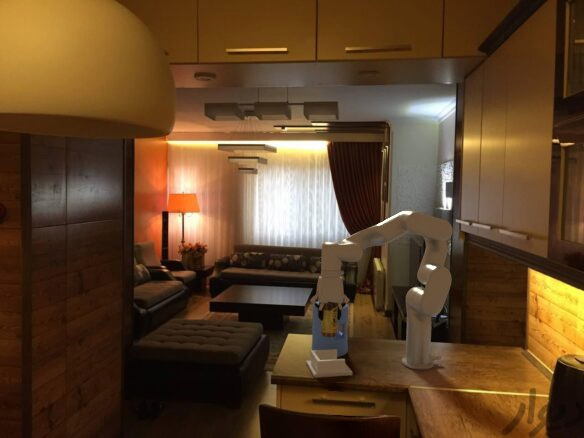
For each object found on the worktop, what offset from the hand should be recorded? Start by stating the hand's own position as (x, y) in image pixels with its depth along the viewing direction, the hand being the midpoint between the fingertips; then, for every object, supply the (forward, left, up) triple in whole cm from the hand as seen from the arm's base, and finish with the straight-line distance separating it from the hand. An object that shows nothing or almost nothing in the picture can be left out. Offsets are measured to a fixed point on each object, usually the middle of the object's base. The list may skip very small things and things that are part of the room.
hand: (329, 319), depth 179 cm
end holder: (0, 0, -20) cm, 20 cm away
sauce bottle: (0, 0, -7) cm, 7 cm away
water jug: (-6, -19, -20) cm, 28 cm away
